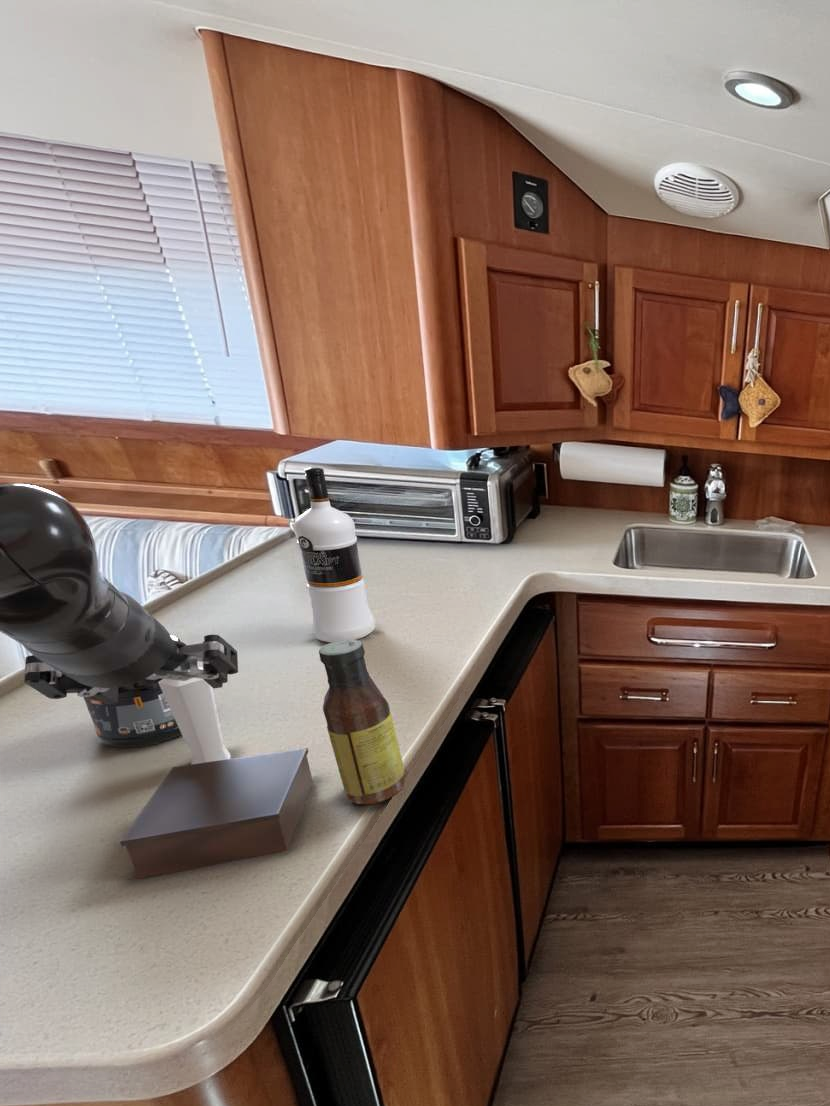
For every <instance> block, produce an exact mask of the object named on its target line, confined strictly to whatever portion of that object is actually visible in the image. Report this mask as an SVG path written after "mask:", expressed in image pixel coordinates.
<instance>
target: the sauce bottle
mask: <svg viewBox="0 0 830 1106" xmlns="http://www.w3.org/2000/svg"><path fill="white" fill-rule="evenodd" d="M365 653H366V650H365V647H364V644H363V642H361V641H360V640H358V639H357V640H353V639H345V640H339V641H335V642H328V643H326V644H324V645H322V646H321V647H320V648H319V650H318V655H319V661H320V662H321V663H322V664H323V666H324V670H325V672H326V676H327V683H328V689H327V692H326V693H325V695H324V699H323V704H322V711H323V715H324V718H325V720H326V729H327V732H328V736H329V740H330V744H331V747H332V751H333V754H334V757H335V762H336V766H337V769H338V772H339V776H340V780H341V784H342V786H343V790H344V791H345V793H347V794H346V795H347V798H348V800H349V801H350V802H351V803H354V804H358V805H375V804H379V803H382V802H386V801H388V800H389V799H392V798H393V797H395V796H397V795H398V794H399V793H400V792H401V791H402V790H403V788H404V786H405V784H406V779H405V766H404V764H403V763H404V762H403V759H402V754H401V750H400V746H399V742H398V737H397V733H396V728H395V725H394V721H393V717H392V713H391V708H390V705H389V702H388V701H387V699H386V697H384V695H383V693H382V692H381V691H380V689H379V688H378V686H377V685H376V683H375V681H374V680H373V679H372V677H371V676H370V673H369V671H368V668H367V664H366V658H365Z"/></svg>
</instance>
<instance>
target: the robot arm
mask: <svg viewBox="0 0 830 1106" xmlns="http://www.w3.org/2000/svg"><path fill="white" fill-rule="evenodd" d="M96 546H97V545H96V542H95V539H94V536H93V533H92V531H91V528H90V525H88V523H87V521H86V519H85V518H84V516H83V515H82V513H81V512H80V511H79V510H78V509H77V508H76V506H74V504H72V503H71V502H70V501H69V500H67V499H66V498H64V497H63V496H62V495H59V494H58V493H56V492H53V491H51V490H50V489H46V488H43V487H39V486H37V485H30V484H24V483H7V484H0V633H1V634H4V635H5V636H7V637H8V638H11V639H12V640H14V641H15V642H17V643H19V644H20V645H22V646H23V648H24V649H25V650H27V652H29V654H31V655H28V656H27V655H26V657H25V663H24V678H23V679H24V684H25V685H27V686H29V687H31V688H32V689H34V690H35V691H37V692H39V693H40V694H41V695H43V696H44V697H46V698H48V699H50V700H52V699H53V700H60V699H65V698H67V696H68V694H76V696H77V697H79V698H84V697H90V698H91V699H93V700H95V701H102V702H104V703H106V704H114V703H117V702H118V687H124V686H128V685H132V684H135V683H137V682H140V681H142V680H144V679H150V680H156V679H158V678H162V679H171V680H180V681H186V680H189V679H191V678H201V679H204V680H205V681H206V682H207V683H208V684H209V685H210V686H211V687H212V689H220V688H223V685H224V684H227V683H228V681H229V680H228V675H235V674H238V673H239V660H238V659H239V658H238V650H236V648H234V647H233V646H232V645H231V644H230V643H229V642H228V641H226V640H225V639H224V638H222V636H220V635H218V634H207V635H206V634H205V635H204V636H203V641H202V643H193V644H186V643H185V642H183V641H181V640H180V641H181V642H180V641H176V640H173V639H172V637H171V636H170V635H171V634H170V632H169V631H168V630H167V628H166V627H165V626H164V625H163V624H162V623H161V622H159V621H158V619H156V618H155V617H154V615H152V614H151V613H150V612H149V611H148V610H147V609H146V608H145V607H143V605H141V604H140V603H139V602H138V601H137V600H136V599H135V598H134V597H132V596H131V595H130V594H128V593H126V592H124V591H123V590H121V589H119V588H118V587H117V586H116V585H115V584H113V583H112V581H111V580H109V579H108V577H106V576H105V575H104V574H103V573H102V571H101V570H100V565H99V558H98V551H97V547H96ZM198 662H200V663H202V668H203V670H200V669H199V668H200V667H198ZM179 666H180V671H176V670H175V669H176V668H178V667H179Z"/></svg>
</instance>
